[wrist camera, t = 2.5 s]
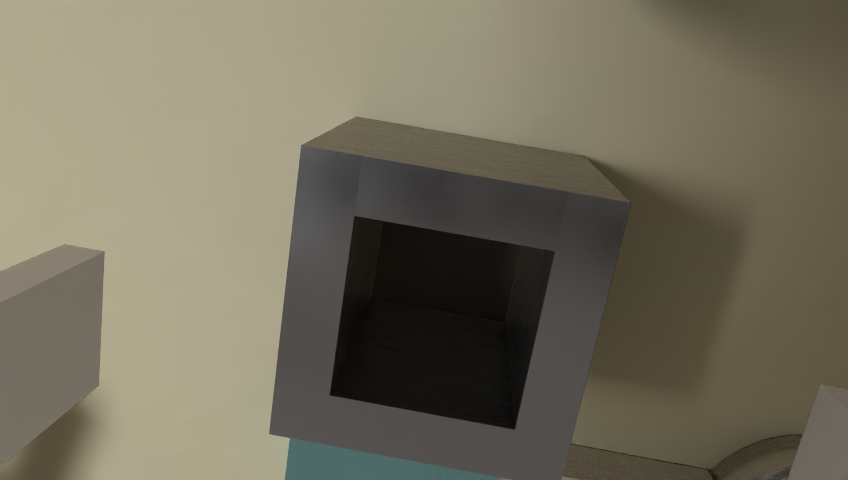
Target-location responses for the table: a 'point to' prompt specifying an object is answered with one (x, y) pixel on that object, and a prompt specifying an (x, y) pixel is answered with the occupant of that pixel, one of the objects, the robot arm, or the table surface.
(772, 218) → the table surface
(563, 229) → the socket
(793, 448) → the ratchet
